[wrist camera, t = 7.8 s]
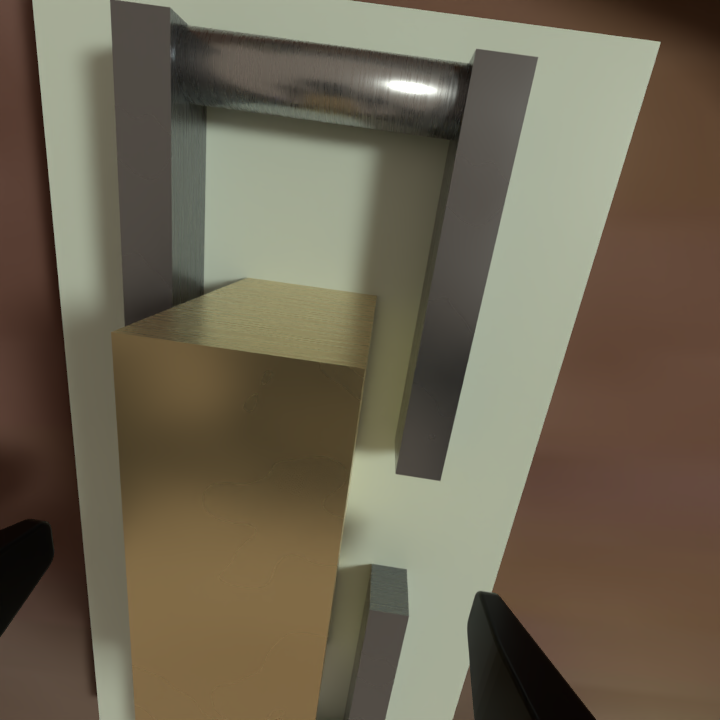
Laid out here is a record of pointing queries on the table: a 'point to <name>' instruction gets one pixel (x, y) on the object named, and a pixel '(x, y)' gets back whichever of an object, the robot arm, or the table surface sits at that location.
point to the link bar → (237, 494)
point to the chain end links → (337, 106)
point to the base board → (352, 274)
